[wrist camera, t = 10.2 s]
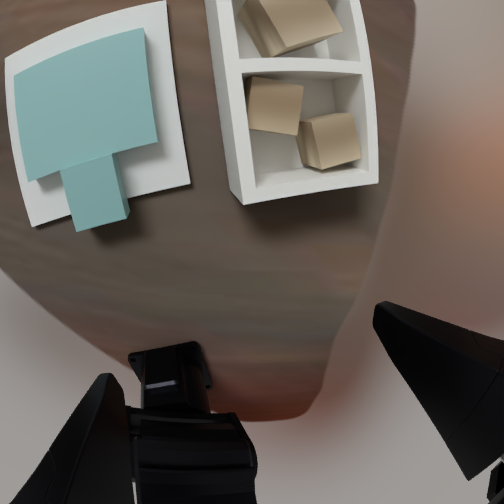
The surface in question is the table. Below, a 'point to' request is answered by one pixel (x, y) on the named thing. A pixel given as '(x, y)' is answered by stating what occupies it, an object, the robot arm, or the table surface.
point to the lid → (87, 121)
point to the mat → (131, 160)
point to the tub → (313, 104)
